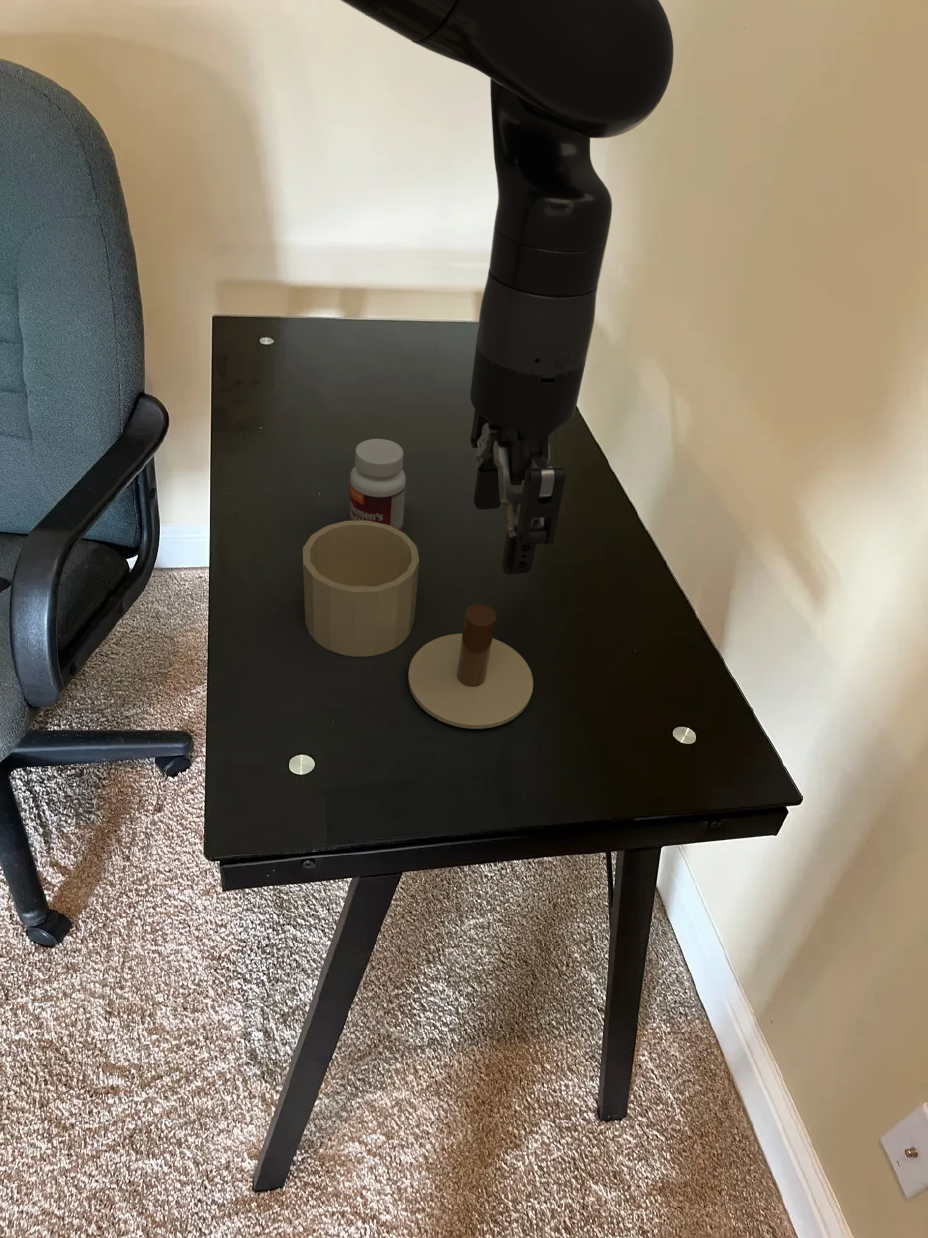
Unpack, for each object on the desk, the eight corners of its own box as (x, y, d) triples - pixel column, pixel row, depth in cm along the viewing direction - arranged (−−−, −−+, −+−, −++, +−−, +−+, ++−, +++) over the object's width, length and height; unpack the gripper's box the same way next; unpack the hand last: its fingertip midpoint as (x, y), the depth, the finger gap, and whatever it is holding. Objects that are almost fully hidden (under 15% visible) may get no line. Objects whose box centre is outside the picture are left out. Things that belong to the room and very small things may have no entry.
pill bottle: (339, 542, 94) (339, 455, 86) (363, 514, 98) (365, 430, 91) (388, 558, 93) (393, 472, 85) (410, 529, 97) (416, 445, 90)
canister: (365, 673, 79) (367, 608, 74) (282, 621, 83) (278, 555, 78) (434, 616, 86) (441, 552, 81) (354, 571, 91) (355, 507, 85)
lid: (485, 754, 74) (498, 684, 67) (381, 689, 78) (385, 617, 72) (554, 680, 81) (572, 611, 75) (456, 625, 86) (465, 555, 80)
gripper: (453, 301, 59) (435, 490, 70) (508, 396, 50) (478, 599, 60) (551, 301, 61) (519, 485, 72) (623, 393, 51) (573, 591, 62)
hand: (500, 537), depth 66 cm, fingers open, 8 cm apart
